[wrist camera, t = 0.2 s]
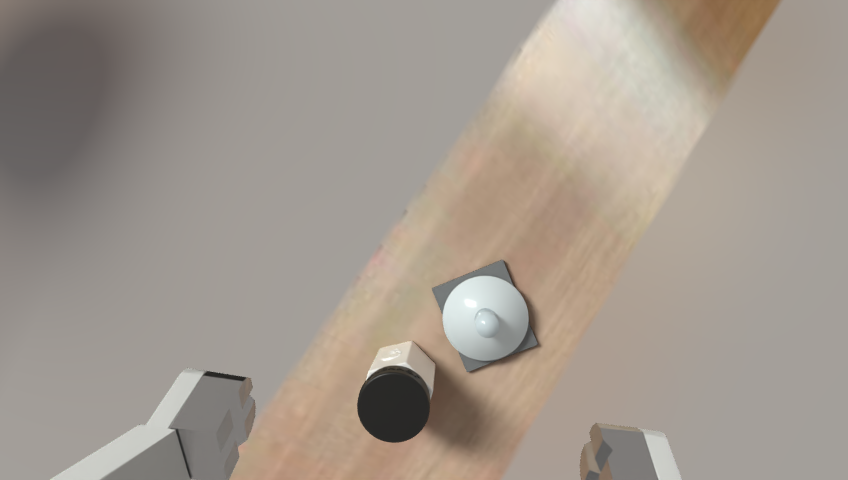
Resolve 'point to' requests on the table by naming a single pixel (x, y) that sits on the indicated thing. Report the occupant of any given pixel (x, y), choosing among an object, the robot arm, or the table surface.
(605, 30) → the table surface
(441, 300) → the mat
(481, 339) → the lid
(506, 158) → the table surface
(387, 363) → the jar
